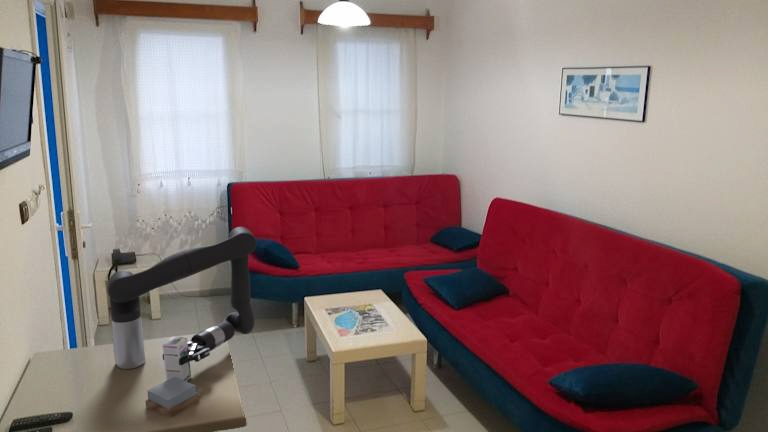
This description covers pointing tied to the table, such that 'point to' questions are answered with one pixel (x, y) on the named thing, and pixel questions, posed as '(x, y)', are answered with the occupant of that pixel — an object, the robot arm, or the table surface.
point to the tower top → (171, 392)
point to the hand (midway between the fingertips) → (171, 360)
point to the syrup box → (176, 358)
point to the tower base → (173, 410)
